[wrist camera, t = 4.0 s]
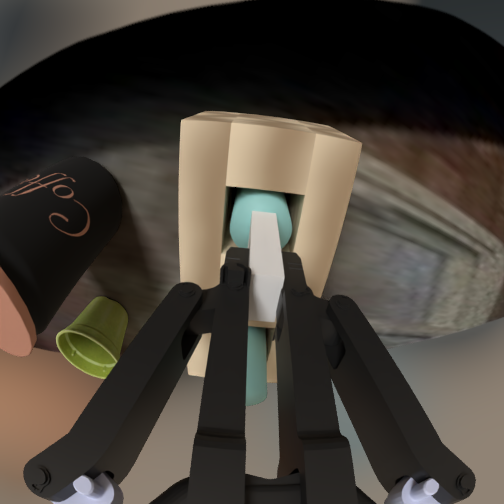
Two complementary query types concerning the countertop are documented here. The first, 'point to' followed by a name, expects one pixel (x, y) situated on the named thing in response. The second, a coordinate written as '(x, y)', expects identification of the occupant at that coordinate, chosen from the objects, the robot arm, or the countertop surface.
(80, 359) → the plant pot
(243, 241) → the peg
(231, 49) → the countertop surface
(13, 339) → the coffee jar
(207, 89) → the countertop surface
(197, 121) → the socket block
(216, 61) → the countertop surface
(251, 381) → the peg
